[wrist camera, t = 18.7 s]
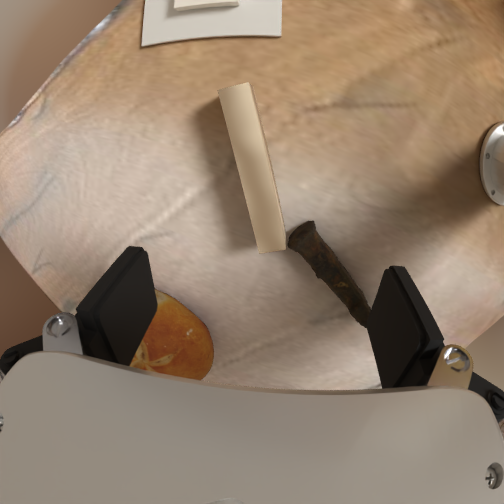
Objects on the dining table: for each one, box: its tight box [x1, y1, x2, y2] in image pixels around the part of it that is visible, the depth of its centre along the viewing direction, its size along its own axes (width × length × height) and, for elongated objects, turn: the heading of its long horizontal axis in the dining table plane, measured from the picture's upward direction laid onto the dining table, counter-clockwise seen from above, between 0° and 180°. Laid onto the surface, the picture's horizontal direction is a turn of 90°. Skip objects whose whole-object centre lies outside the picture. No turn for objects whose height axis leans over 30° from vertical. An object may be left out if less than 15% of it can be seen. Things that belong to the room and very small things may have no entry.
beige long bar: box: [217, 83, 286, 254], centre depth 29 cm, size 3×18×5 cm, turn 13°
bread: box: [130, 289, 214, 380], centre depth 42 cm, size 23×23×10 cm
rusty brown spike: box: [288, 221, 371, 328], centre depth 36 cm, size 19×4×5 cm, turn 39°
